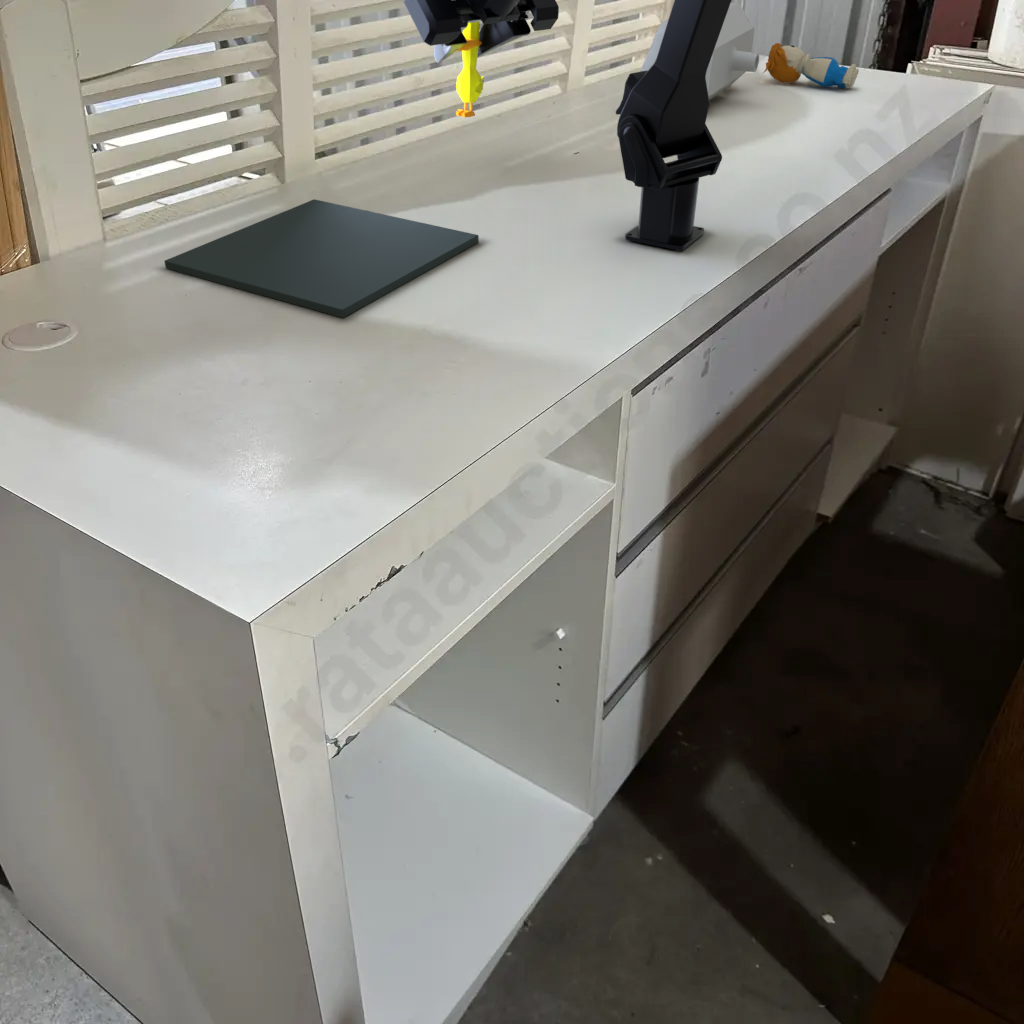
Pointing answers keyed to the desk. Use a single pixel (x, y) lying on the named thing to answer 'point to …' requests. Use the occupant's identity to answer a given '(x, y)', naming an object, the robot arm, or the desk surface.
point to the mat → (324, 256)
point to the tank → (721, 51)
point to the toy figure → (469, 70)
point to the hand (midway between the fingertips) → (455, 56)
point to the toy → (808, 68)
